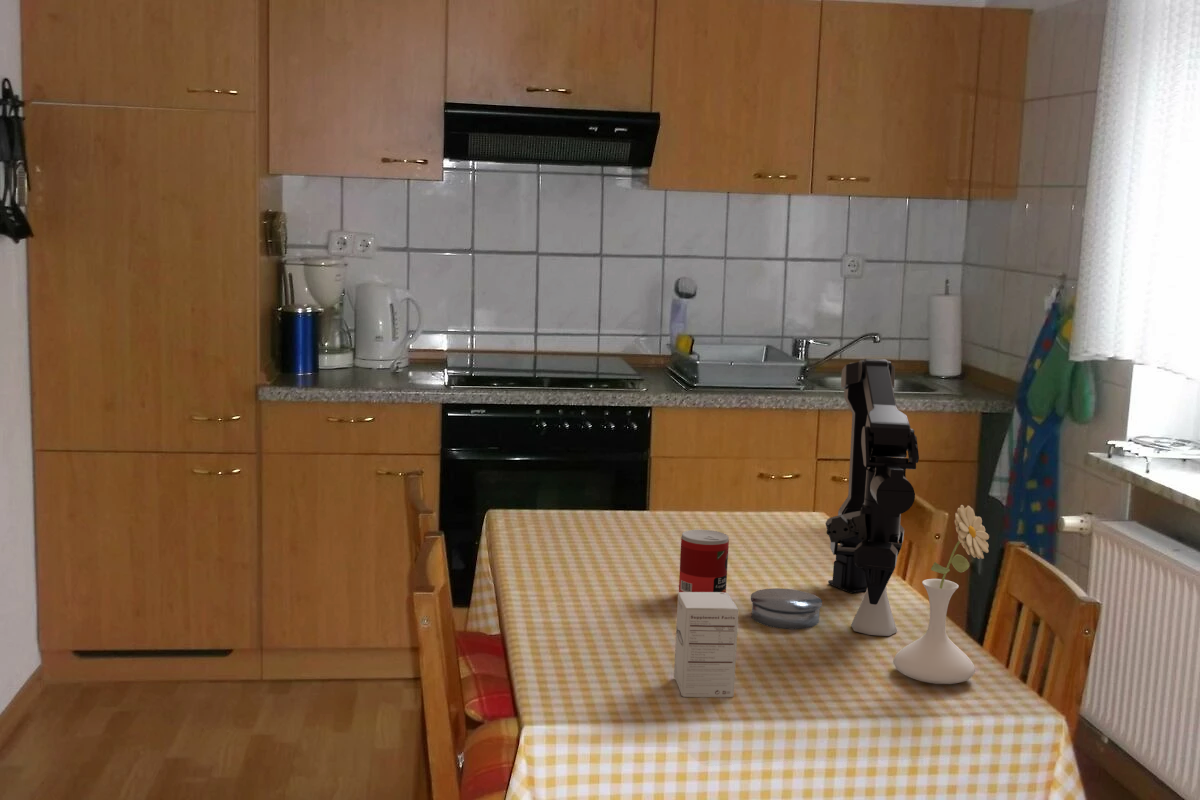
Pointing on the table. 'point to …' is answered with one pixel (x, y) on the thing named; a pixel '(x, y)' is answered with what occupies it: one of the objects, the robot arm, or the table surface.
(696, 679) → the supplement box
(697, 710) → the table surface
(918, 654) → the flower in vase
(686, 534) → the canned food
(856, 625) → the flask
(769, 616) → the biscuit tin
